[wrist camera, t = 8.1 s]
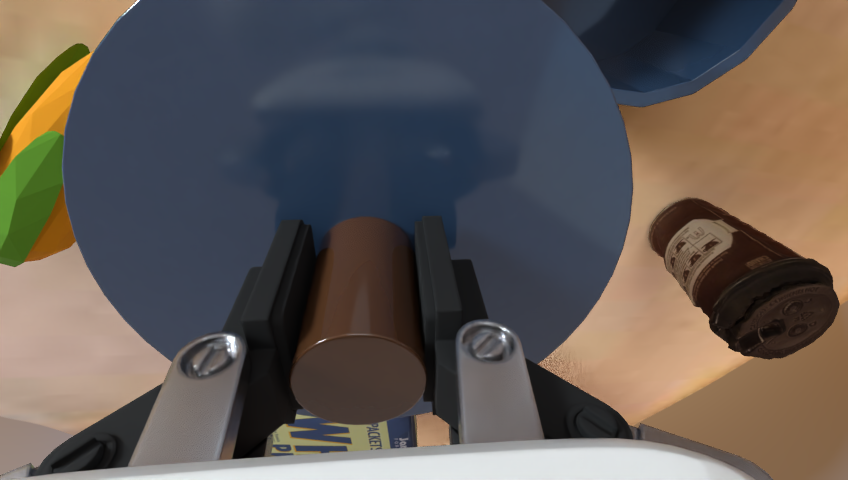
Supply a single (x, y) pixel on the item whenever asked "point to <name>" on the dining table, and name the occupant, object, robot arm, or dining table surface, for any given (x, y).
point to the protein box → (342, 436)
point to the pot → (668, 41)
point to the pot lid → (347, 174)
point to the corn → (38, 164)
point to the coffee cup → (744, 280)
